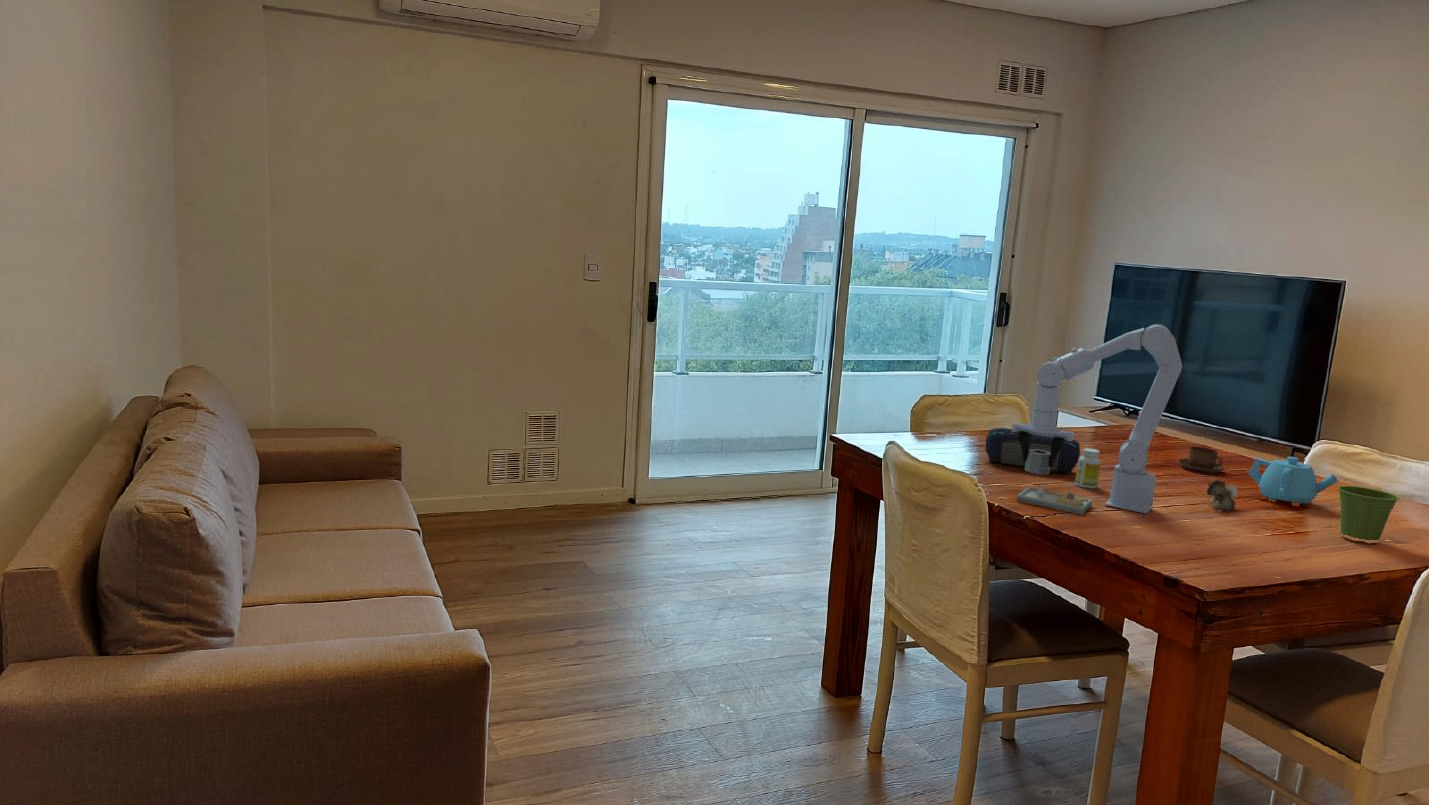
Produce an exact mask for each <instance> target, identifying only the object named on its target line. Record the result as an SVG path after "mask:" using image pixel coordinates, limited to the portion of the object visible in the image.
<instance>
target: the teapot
mask: <svg viewBox="0 0 1429 805" xmlns="http://www.w3.org/2000/svg"><path fill="white" fill-rule="evenodd" d="M1299 460H1300V458H1298V457H1295V456H1287V458H1286V459H1285V460H1284V459H1275V460H1272V461H1269V460H1266V459H1262V458H1260V457H1255V460H1254V462H1253V463H1252V465H1251V467H1250V470H1249V471H1248V473H1247V474H1248V475H1249V476H1250V477H1251V478H1252V479H1253V480H1254V481H1255V483H1256V484H1258V489H1259V492H1260V493H1261V495H1262V496H1265V497H1267V498H1268V499H1271V500H1277V501H1278V500H1280V501H1285V502H1290V503H1291V502H1293V503H1300V504H1302V503H1304V504H1310V503H1311V502H1312V501H1313V500H1314V499H1315V498H1316V497H1317V496H1318V494H1319V493H1321V492H1322V491H1324V490H1326V489H1329V487H1331V486H1333V485H1335V484H1337V483H1338V482H1339V479H1338V478H1337V477H1336V476H1335V475H1334V474H1331V475H1328V476H1326V477H1325V478H1324V479H1323V480H1321V481H1319V482H1318V481H1317V477H1316V474H1315V471H1314V469H1313V467H1312V465H1311V464H1310V465H1309V464H1306V463H1303V462H1300V461H1299ZM1261 465H1263V466H1265V467H1266V469H1265V470H1264V471H1263V473H1262V474H1261V473H1260V472H1259V470H1260V467H1261ZM1317 482H1318V483H1317Z"/></svg>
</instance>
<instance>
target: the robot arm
mask: <svg viewBox="0 0 1429 805" xmlns="http://www.w3.org/2000/svg"><path fill="white" fill-rule="evenodd" d="M1142 346H1143V348H1144V349H1145V351H1147V352H1148V353H1149V354H1150V355H1151V356H1152V357H1153V360H1154V361H1155V363H1156V364H1157V366H1158V368H1159V369H1158V370H1157V373H1156V376H1155V378H1154V380H1153V383H1152V385H1151V387H1150V390H1149V391H1148V395H1147V397H1146V399H1145V401H1144V404H1143V406H1142V409H1141V411H1140V412H1139V415H1138V418H1137V420H1136V422H1135V425H1134V427H1133V429H1132V431H1131V433H1130V436H1129V437H1128V439H1127V440H1126V441H1125V442H1123V443H1122V445H1121V446H1120V448H1119V454H1118V457H1117V462H1118V464H1116V465H1114V470H1113V476H1112V483H1111V490H1110V497H1109V499H1108V500H1106V502H1105V503H1104V505H1105V506H1107V507H1112V508H1117V509H1120V510H1121V509H1122V510H1128V511H1131V512H1138V513H1143V514H1148V513H1149V512H1150V510H1151V509H1152V508H1153V504H1154V496H1155V495H1154V494H1155V488H1156V482H1157V481H1156V480H1157V475H1155V474H1151V473H1148V469H1147V468H1146V465H1147V463H1148V450H1149V448H1150V444H1151V441H1152V439H1153V437H1154V434H1155V432H1156V430H1157V427H1158V425H1159V423H1160V420H1161V417H1162V416H1163V413H1164V411H1165V409H1166V407H1167V404H1168V402H1169V399H1170V398H1171V395H1172V392H1173V391H1174V388H1175V386H1176V383H1177V380H1178V378H1179V377H1180V374H1181V372H1182V368H1183V363H1182V359H1181V356H1180V353H1179V349H1178V345H1177V340H1176V337H1174V335H1173V334H1172V332H1171V331H1170V329H1168V327H1166V326H1165V325H1163V324H1159V323H1158V324H1157V323H1155V324H1152V325H1148V326H1147V327H1146V328H1145V327H1142V328H1139V329H1135V330H1132V331H1128V332H1126V333H1124V334H1122V335H1120V336H1117V337H1115V338H1113V339H1111V340H1109V341H1107V342H1104V343H1102V344H1101V345H1100V344H1099V345H1097V346H1096V347H1094V348H1092V349H1086V348H1084V347H1080V348H1077V347H1075V348H1071V350H1070V351H1071V352H1069V353H1066V354H1064V355H1062V356H1060V357H1057V356H1056V357H1053V358H1052V361H1047V362H1045V363H1043V364H1042V365H1041V366H1040V367H1039V368H1038V370H1037V373H1036V379H1037V383H1036V390H1035V393H1034V400H1033V408H1032V416H1031V424H1026V423H1018V422H1017V423H1016V422H1013V423H1012V426H1011V429H1012V431H1013V432H1019V434H1018V440H1019V442H1020V445H1021V449H1022V454H1023V462H1024V463H1026V457H1027V450H1029V448H1030V442H1031V438H1032V434H1034V435H1040V436H1046V437H1052V438H1054V439H1052V440H1051V455H1050V460H1049V467H1053V465H1054V462H1055V459H1056V457H1057V455H1058V453H1059V451H1060V449H1061V448H1062V446H1063V445H1064V443H1065V442H1066V440H1067V441H1072V440H1074V435H1075V432H1073V431H1067V430H1062V429H1058V428H1056V426H1057V425H1056V424H1057V418H1058V410H1059V404H1060V403H1059V402H1060V387H1061V381H1062V380H1066V381H1067V380H1068V381H1069V380H1070V379H1072V378H1075V377H1077V376H1079V375H1082V374H1084V373H1086V372H1089V371H1091V370H1093V369H1094V365H1095V363H1096V362H1099V361H1101V360H1104V359H1106V358H1108V357H1111V356H1114V355H1116V354H1118V353H1121V352H1123V351H1126V350H1133V351H1141V349H1142ZM1042 433H1043V434H1042ZM1048 434H1050V435H1048Z"/></svg>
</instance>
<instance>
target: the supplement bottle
mask: <svg viewBox="0 0 1429 805" xmlns="http://www.w3.org/2000/svg"><path fill="white" fill-rule="evenodd" d="M1099 456H1100V450H1098V449H1094V448H1087V447H1086V448H1083V449H1082V455H1081V456H1079V460H1078V463H1077V469H1076V474H1075V482H1074V484H1075V485H1076V486H1078V487H1081V488H1085V489H1096V488H1097V487H1098V481H1099V475H1100V469H1101V463H1102V462H1101V460H1100V458H1098V457H1099Z"/></svg>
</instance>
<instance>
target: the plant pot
mask: <svg viewBox="0 0 1429 805" xmlns="http://www.w3.org/2000/svg"><path fill="white" fill-rule="evenodd" d="M1336 489H1337V490H1338V491H1339V500H1340V534H1341V533H1342V534H1343V535H1348V536H1351V537H1354V538H1359V539H1365V540H1378V539H1379V540H1380V539H1381V538H1382V537H1381V536H1382V535H1383V532H1384V529H1385V527H1386V524H1387V521H1388V519H1389V516H1390V514H1391V512H1392V510H1393V509H1394V507H1395V505H1396V503H1397V501H1399V500H1400V499H1401V498H1400V496H1399V495H1396V494H1394V493H1391V492H1387V491H1385V490H1384V491H1383V490H1378V489H1374V488H1368V487H1363V486H1362V487H1361V486H1353V485H1338V486H1337V488H1336Z"/></svg>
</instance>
